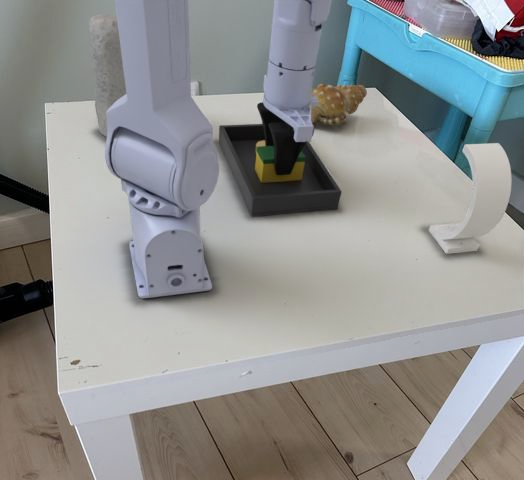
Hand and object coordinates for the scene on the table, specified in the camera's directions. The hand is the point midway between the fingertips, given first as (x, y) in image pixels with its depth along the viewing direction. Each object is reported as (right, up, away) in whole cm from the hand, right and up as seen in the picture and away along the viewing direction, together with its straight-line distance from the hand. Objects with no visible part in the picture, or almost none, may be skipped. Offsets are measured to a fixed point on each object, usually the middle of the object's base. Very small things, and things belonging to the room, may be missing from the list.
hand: (278, 165), depth 70 cm
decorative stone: (-22, +8, +7) cm, 24 cm away
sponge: (0, -1, +1) cm, 1 cm away
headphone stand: (+23, -12, -4) cm, 26 cm away
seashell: (+9, +13, +15) cm, 22 cm away
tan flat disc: (-2, +4, +5) cm, 6 cm away
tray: (-1, 0, +2) cm, 2 cm away
